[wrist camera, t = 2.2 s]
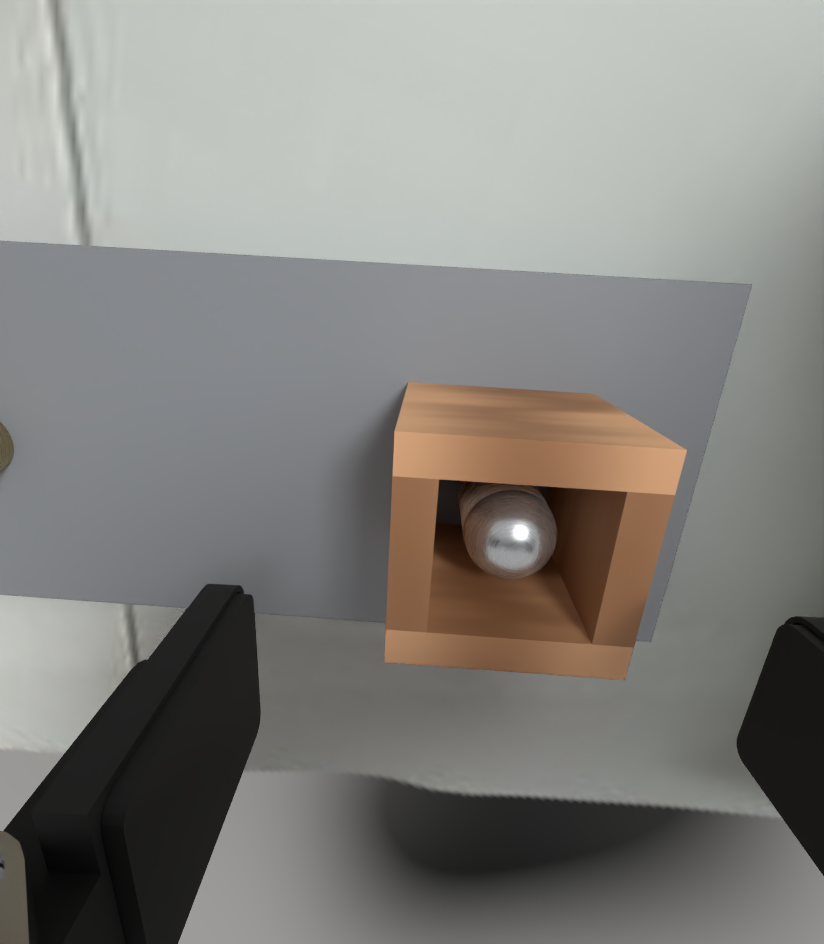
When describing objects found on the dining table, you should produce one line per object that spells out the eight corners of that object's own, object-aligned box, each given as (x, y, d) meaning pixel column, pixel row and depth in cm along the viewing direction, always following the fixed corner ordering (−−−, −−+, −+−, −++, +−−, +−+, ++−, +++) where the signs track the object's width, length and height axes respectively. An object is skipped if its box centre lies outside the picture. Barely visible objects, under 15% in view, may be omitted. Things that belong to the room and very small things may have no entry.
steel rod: (529, 443, 16) (576, 513, 11) (520, 508, 17) (559, 601, 12) (458, 438, 16) (470, 506, 11) (452, 503, 17) (461, 594, 12)
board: (723, 285, 15) (752, 284, 14) (635, 617, 20) (650, 641, 19) (-235, 229, 16) (-299, 223, 15) (-110, 564, 21) (-149, 583, 19)
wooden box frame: (593, 393, 15) (687, 449, 10) (562, 556, 17) (625, 679, 12) (408, 381, 15) (394, 431, 10) (399, 545, 18) (384, 662, 12)
